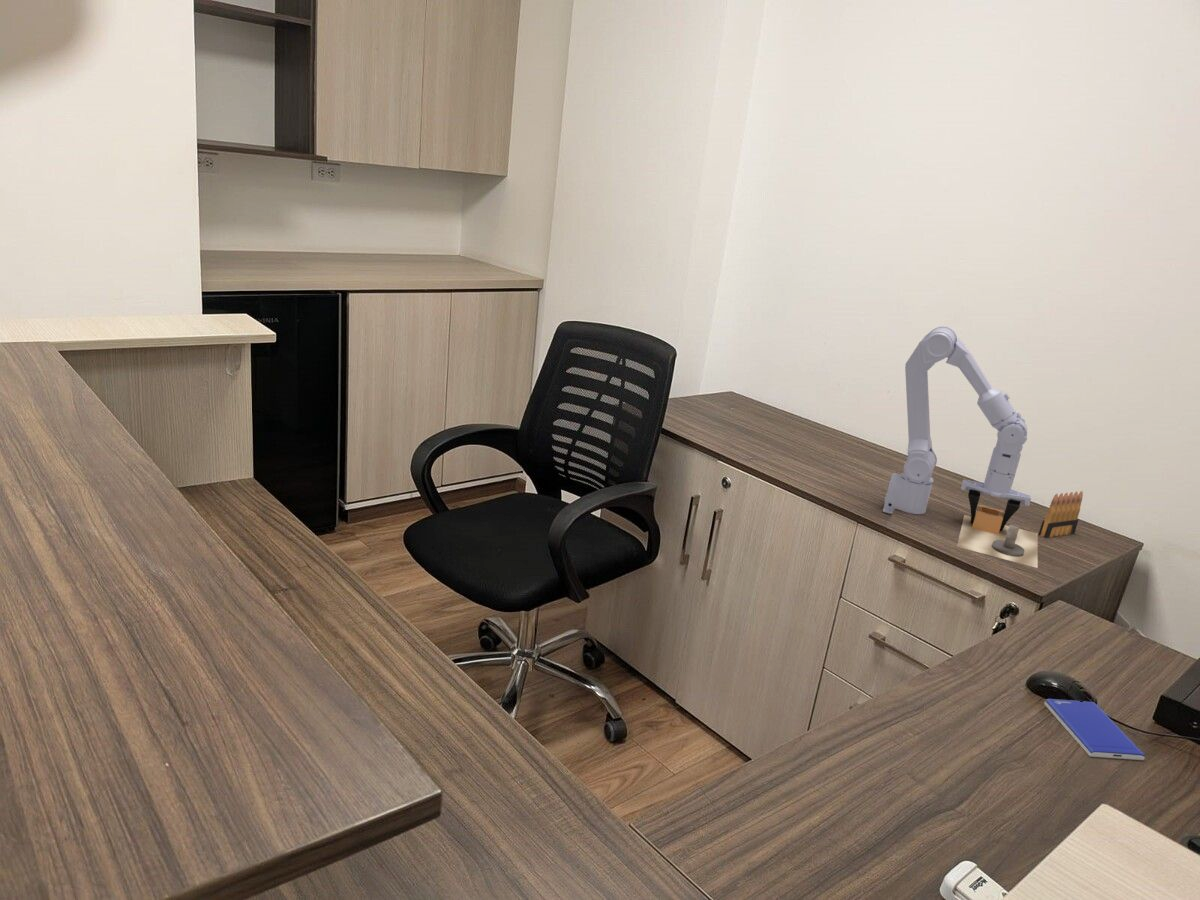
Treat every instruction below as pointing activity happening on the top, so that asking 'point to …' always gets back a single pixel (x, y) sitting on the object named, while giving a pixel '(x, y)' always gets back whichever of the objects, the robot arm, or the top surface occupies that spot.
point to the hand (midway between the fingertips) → (986, 525)
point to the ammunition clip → (1062, 515)
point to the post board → (1001, 543)
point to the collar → (988, 519)
